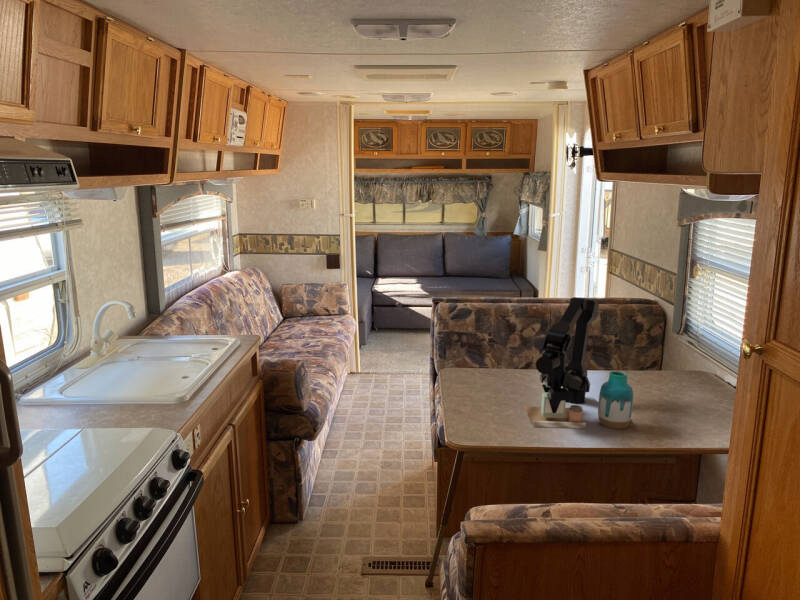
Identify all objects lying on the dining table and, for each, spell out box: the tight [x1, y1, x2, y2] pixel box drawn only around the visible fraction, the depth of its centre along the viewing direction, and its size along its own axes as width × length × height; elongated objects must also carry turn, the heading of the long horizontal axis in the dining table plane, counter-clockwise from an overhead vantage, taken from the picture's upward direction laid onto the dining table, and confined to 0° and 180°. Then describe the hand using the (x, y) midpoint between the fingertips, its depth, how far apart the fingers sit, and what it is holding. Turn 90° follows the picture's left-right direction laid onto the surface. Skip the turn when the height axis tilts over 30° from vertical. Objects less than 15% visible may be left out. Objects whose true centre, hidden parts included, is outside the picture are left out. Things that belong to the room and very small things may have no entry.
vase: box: [597, 370, 634, 430], centre depth 191 cm, size 11×11×19 cm
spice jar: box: [568, 404, 584, 422], centre depth 192 cm, size 4×4×6 cm
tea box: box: [540, 391, 567, 417], centre depth 194 cm, size 7×4×7 cm, turn 87°
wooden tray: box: [523, 406, 587, 430], centre depth 198 cm, size 17×17×3 cm
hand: (552, 410), depth 194 cm, fingers closed on tea box, 4 cm apart
